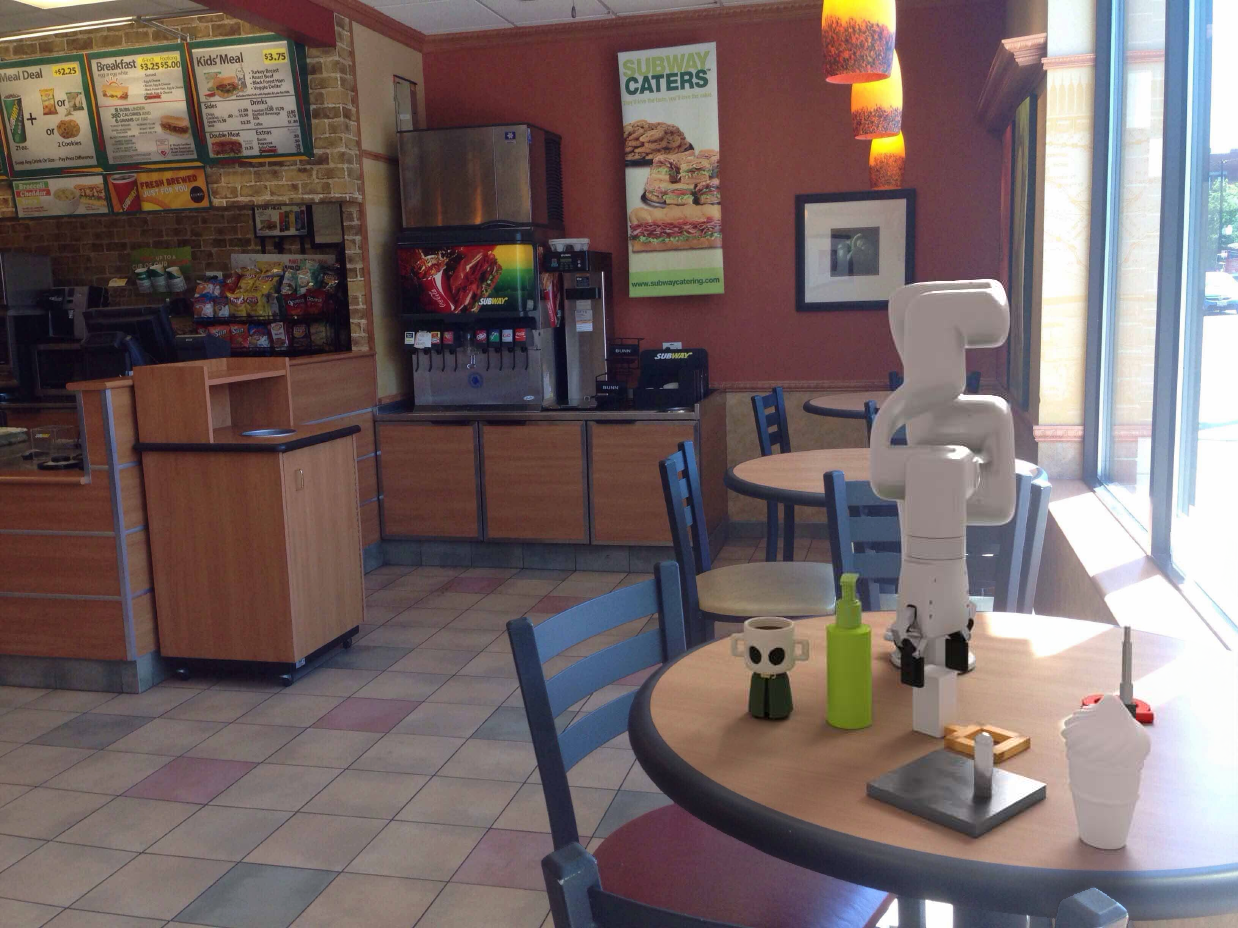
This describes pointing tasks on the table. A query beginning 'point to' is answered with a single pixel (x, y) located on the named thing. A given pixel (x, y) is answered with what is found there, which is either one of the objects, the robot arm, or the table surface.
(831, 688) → the soap dispenser
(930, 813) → the plate
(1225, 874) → the table surface
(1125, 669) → the tow hook
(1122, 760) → the soft serve ice cream cone
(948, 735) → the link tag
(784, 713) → the character mug
